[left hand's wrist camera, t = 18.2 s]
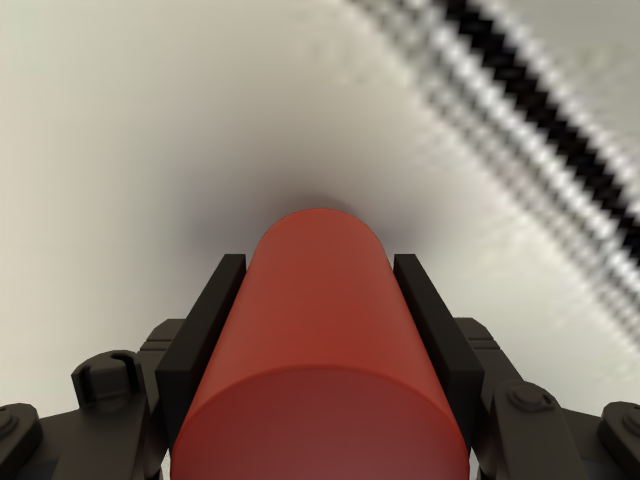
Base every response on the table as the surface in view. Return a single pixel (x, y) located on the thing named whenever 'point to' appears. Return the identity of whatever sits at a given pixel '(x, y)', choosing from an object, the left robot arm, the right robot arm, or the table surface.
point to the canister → (319, 370)
